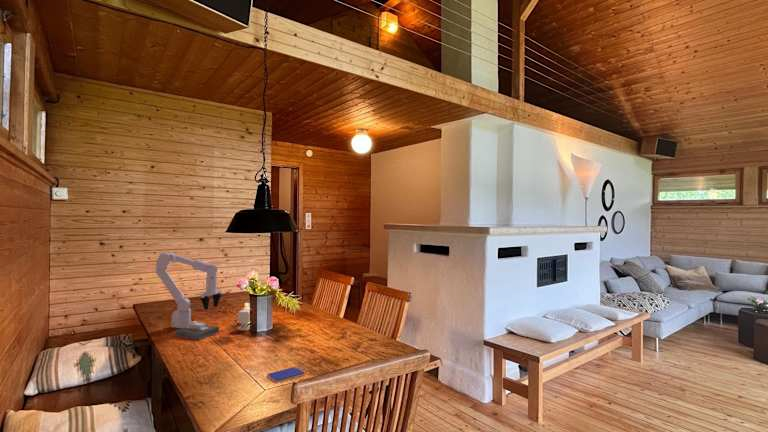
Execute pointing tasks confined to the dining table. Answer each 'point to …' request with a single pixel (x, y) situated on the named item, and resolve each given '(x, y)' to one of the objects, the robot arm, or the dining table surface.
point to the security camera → (244, 319)
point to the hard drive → (285, 374)
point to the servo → (197, 326)
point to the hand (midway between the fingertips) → (210, 307)
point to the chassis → (196, 332)
